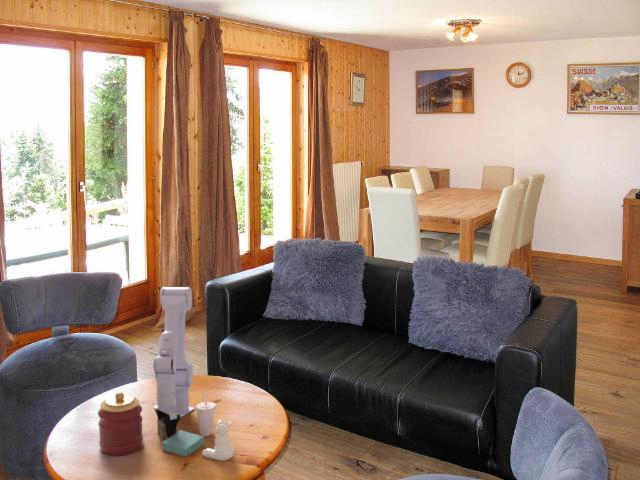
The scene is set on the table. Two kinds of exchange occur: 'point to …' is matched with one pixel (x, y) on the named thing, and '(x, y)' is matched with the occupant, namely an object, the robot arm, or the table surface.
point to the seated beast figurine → (221, 443)
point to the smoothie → (205, 416)
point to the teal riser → (183, 443)
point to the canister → (120, 425)
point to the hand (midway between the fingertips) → (167, 431)
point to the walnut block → (162, 430)
